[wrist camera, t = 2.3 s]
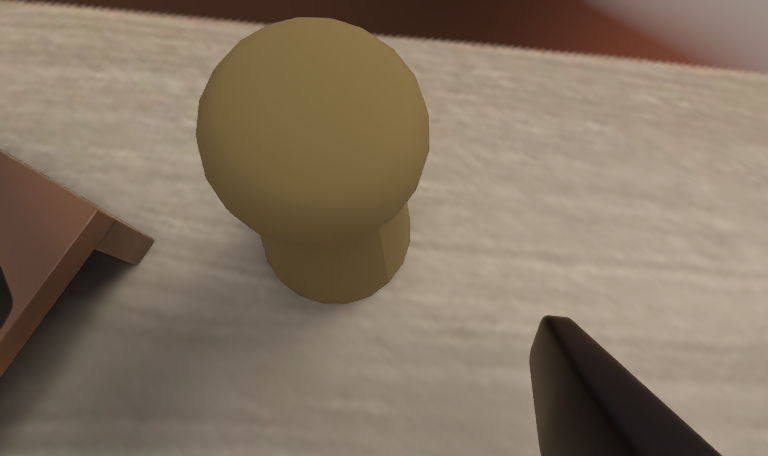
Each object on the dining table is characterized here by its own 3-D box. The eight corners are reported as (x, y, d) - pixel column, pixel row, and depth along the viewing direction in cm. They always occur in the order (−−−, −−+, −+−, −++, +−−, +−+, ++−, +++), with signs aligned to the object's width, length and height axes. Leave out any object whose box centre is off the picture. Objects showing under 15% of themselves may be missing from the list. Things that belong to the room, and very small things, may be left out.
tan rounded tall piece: (237, 196, 21) (105, 33, 10) (370, 137, 22) (377, -72, 11) (299, 330, 20) (224, 306, 9) (436, 262, 20) (516, 165, 10)
